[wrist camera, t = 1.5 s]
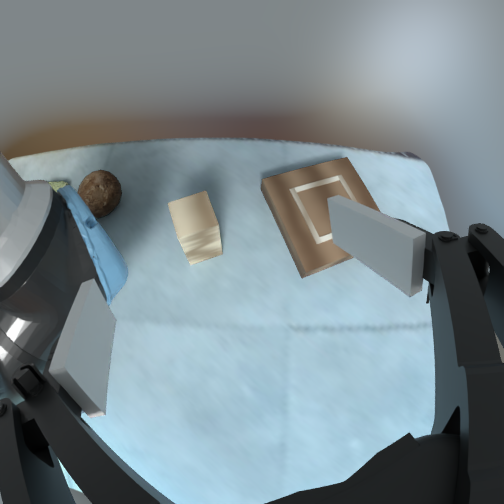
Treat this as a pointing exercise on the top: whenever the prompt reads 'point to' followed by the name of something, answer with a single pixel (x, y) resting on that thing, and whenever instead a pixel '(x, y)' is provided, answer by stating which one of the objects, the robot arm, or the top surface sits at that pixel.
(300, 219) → the base board
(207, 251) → the beech pillar
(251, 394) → the top surface
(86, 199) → the mushroom
